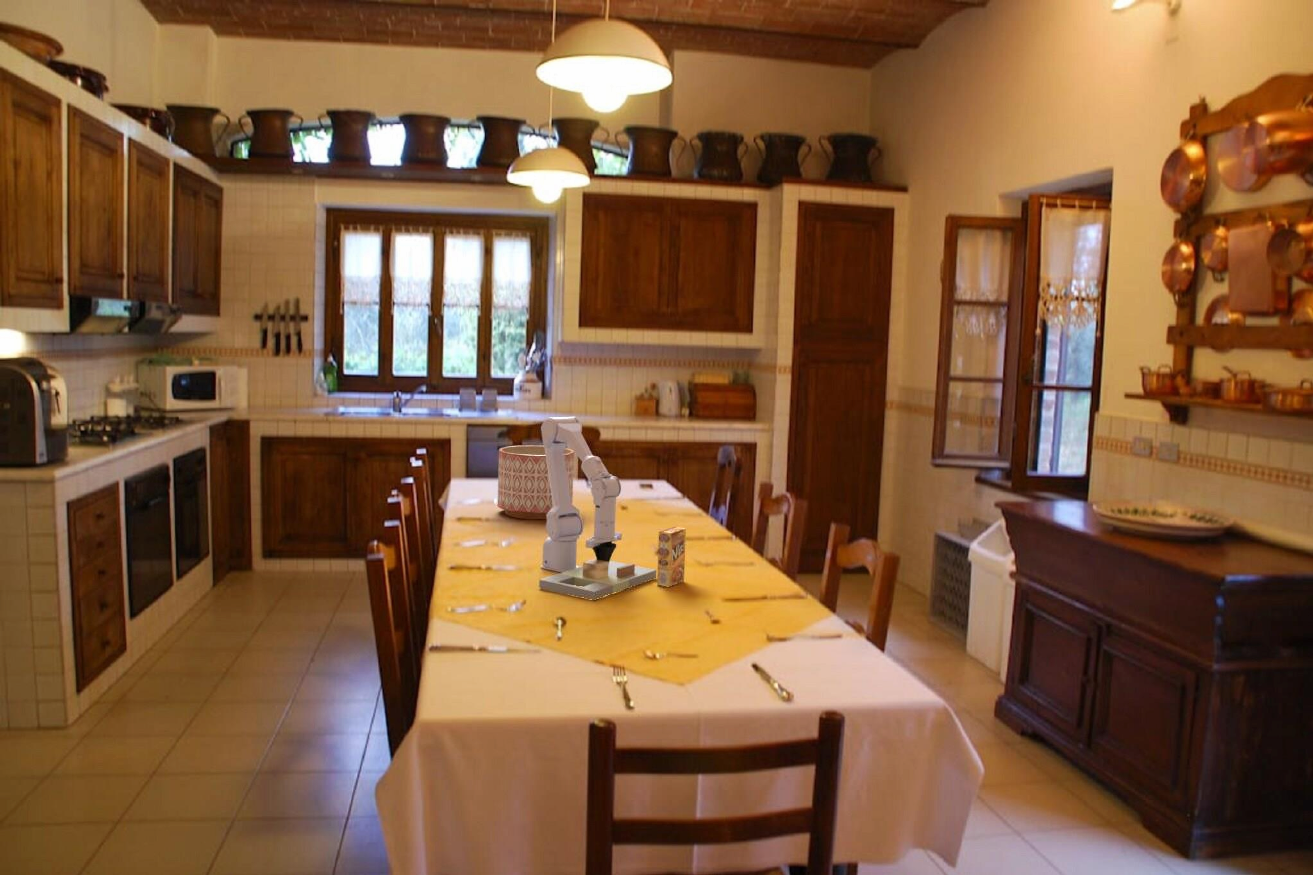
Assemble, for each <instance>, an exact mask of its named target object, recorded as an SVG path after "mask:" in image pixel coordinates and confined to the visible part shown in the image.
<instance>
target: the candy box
mask: <svg viewBox="0 0 1313 875" xmlns="http://www.w3.org/2000/svg"><path fill="white" fill-rule="evenodd" d="M686 531H687V528H686V527H678V526H672V527H670V528H667V529H664V530H661V531H658V542H657V543H658V546H657V548H658V550H657V573H656V582H657V583H656V585H663V586H671V587H673V586H672V585H674V586H676V585H677V584H676V583H679V584H681V583H682V582H681V581H684V582H685V564H686V561H685V560H686V559H685V558H686V535H687V532H686ZM680 582H681V583H680ZM675 584H676V585H675ZM663 586H662V587H663Z"/></svg>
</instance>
